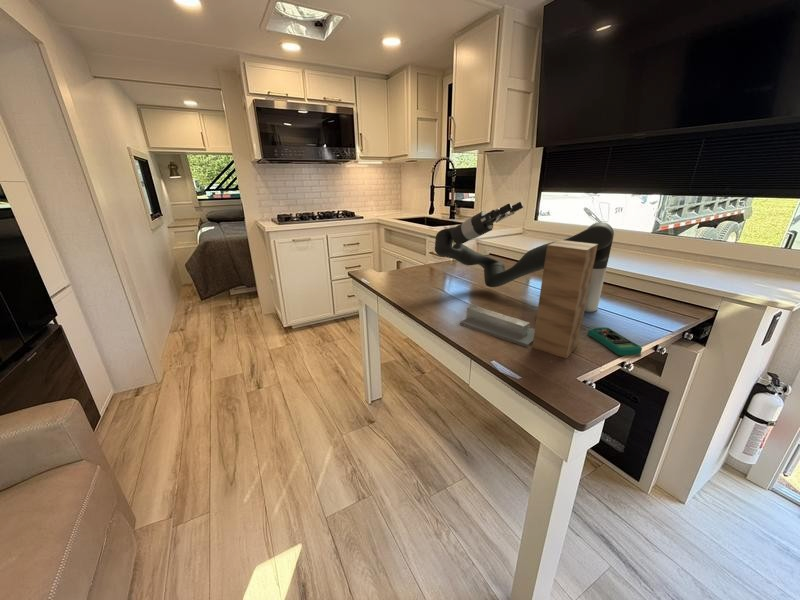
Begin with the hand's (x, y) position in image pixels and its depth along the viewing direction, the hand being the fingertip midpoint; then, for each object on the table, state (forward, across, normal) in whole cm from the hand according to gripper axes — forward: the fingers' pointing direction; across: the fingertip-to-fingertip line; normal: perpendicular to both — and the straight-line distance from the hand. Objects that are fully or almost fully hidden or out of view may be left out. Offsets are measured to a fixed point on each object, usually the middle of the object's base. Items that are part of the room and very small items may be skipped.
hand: (516, 205), depth 107 cm
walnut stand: (-1, +9, -46) cm, 47 cm away
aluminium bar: (-18, +9, -35) cm, 41 cm away
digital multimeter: (+10, -4, -53) cm, 54 cm away
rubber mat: (-18, +9, -37) cm, 42 cm away
